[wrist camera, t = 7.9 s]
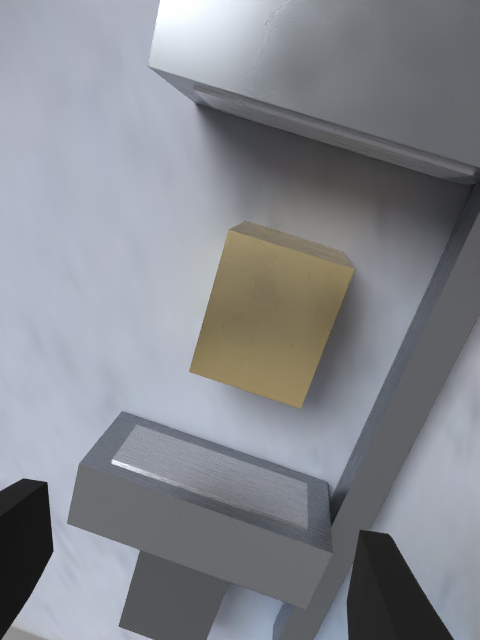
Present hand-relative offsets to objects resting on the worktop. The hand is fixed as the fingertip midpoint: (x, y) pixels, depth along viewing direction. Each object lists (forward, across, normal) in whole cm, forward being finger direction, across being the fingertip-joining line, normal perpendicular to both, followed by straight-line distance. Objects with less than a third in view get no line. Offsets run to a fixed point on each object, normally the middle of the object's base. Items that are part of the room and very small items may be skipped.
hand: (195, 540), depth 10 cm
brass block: (+10, -1, -4) cm, 10 cm away
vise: (+9, -1, 0) cm, 9 cm away
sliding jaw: (+9, +2, +8) cm, 12 cm away
